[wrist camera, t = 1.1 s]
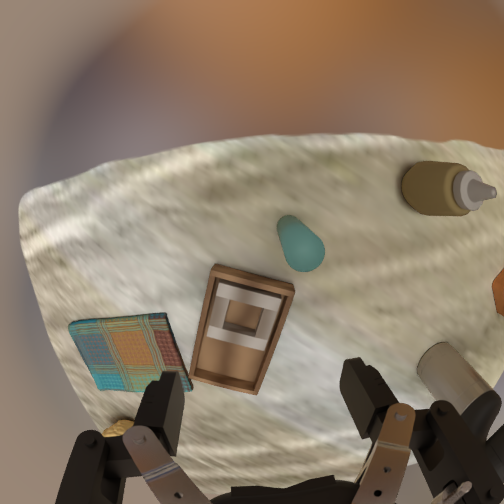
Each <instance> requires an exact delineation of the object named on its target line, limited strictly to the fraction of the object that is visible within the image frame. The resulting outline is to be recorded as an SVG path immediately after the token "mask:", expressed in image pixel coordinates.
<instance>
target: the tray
mask: <svg viewBox="0 0 504 504" xmlns="http://www.w3.org/2000/svg"><path fill="white" fill-rule="evenodd" d="M294 294H295V290H294V286H293V284H290V283H286V282H282V281H278V280H275V279H271V278H267V277H263V276H259V275H256V274H252V273H248V272H244V271H241V270H237V269H233V268H230V267H226V266H222V265H219V264H214V266H213V267H212V269H211V272H210V276H209V280H208V285H207V289H206V294H205V298H204V303H203V307H202V312H201V317H200V322H199V326H198V331H197V336H196V341H195V346H194V351H193V356H192V361H191V366H190V372H189V377H188V378H190V379H194V380H197V381H200V382H204V383H208V384H211V385H215V386H219V387H223V388H227V389H231V390H235V391H239V392H244V393H248V394H253V395H257V394H258V392H259V389H260V387H261V384H262V382H263V379H264V377H265V374H266V371H267V369H268V366H269V364H270V361H271V358H272V356H273V353H274V350H275V348H276V345H277V342H278V340H279V337H280V334H281V331H282V329H283V326H284V323H285V320H286V317H287V315H288V312H289V309H290V306H291V303H292V300H293V297H294Z"/></svg>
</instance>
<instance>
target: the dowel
mask: <svg viewBox="0 0 504 504" xmlns="http://www.w3.org/2000/svg"><path fill="white" fill-rule="evenodd" d="M277 231H278V235H279V238H280V241H281V245H282V248H283V251H284V255H285V258H286V261H287V263H288V264H289V265H290V267H292V268H293V269H294V270H296V271H300V272H309V271H312V270H314V269H316V268H317V267H318V266H319V265H320V264H321V263H322V261H323V259H324V255H325V248H324V245H323V242H322V241H321V239H320V238H319V237H318V236H317V235H315V234H314V233H313V232H312V231H311V230H310V229H309V228H308V227H306V226H305V225H304V224H303V223H302V222H301V221H300V220H298V219H297V218H296V217H294V216H291V215H287V216H284V217H282V218H281V219H280V220H279V221H278V224H277Z"/></svg>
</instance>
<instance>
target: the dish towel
mask: <svg viewBox="0 0 504 504" xmlns="http://www.w3.org/2000/svg"><path fill="white" fill-rule="evenodd" d="M68 330H69V333H70V335H71V337H72V339H73V341H74V343H75V345H76V346H77V348H78V350H79V352H80V354H81V356H82V358H83V360H84V362H85V364H86V365H87V367H88V369H89V371H90V373H91V375H92V377H93V378H94V380H95V383H96V385H97V388H98V389H99V390H100V391H105V390H114V391H126V392H145V389H146V387H147V386H148V385H149V383H150V382H151V381H152V380H156V381H159V379H160V376H161V373H162V371H178V372H179V375H180V379H181V383H182V387H183V391H184V392H190V391H192V390H193V385H192V382H191V380H190V378H188V377H189V375H188V372H187V370H186V368H185V365H184V362H183V359H182V357H181V354H180V351H179V348H178V346H177V343H176V340H175V337H174V334H173V332H172V329H171V326H170V323H169V321H168V318H167V313H153V314H144V315H136V316H128V317H117V318H103V319H90V320H81V321H77V322H71V324H69V325H68Z"/></svg>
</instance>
